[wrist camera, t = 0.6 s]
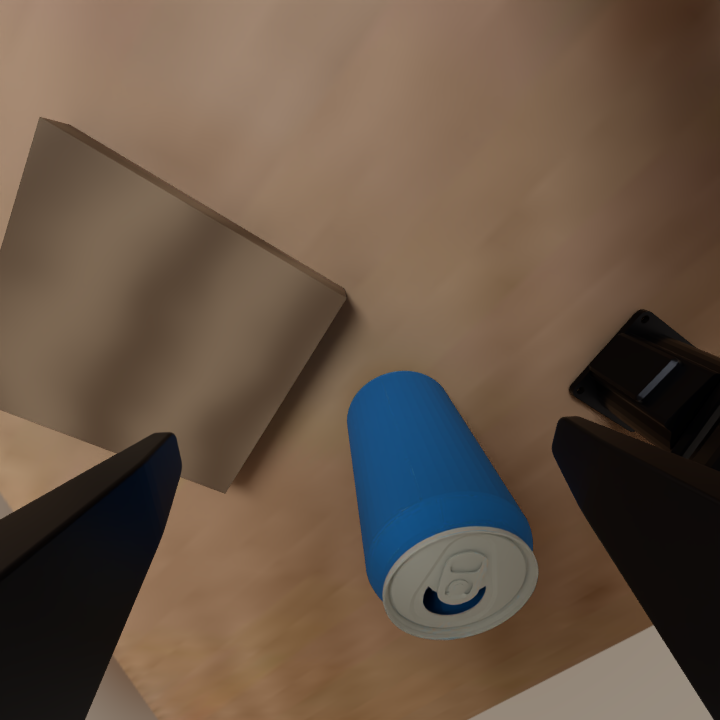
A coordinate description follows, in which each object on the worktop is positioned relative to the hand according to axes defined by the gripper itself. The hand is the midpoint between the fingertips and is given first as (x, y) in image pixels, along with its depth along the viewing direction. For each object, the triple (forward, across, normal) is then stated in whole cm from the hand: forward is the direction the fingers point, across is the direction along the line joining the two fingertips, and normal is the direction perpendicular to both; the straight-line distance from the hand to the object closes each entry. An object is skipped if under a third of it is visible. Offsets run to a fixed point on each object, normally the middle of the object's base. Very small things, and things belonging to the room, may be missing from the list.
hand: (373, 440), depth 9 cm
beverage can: (+14, -3, +7) cm, 16 cm away
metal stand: (+13, +10, +2) cm, 16 cm away
